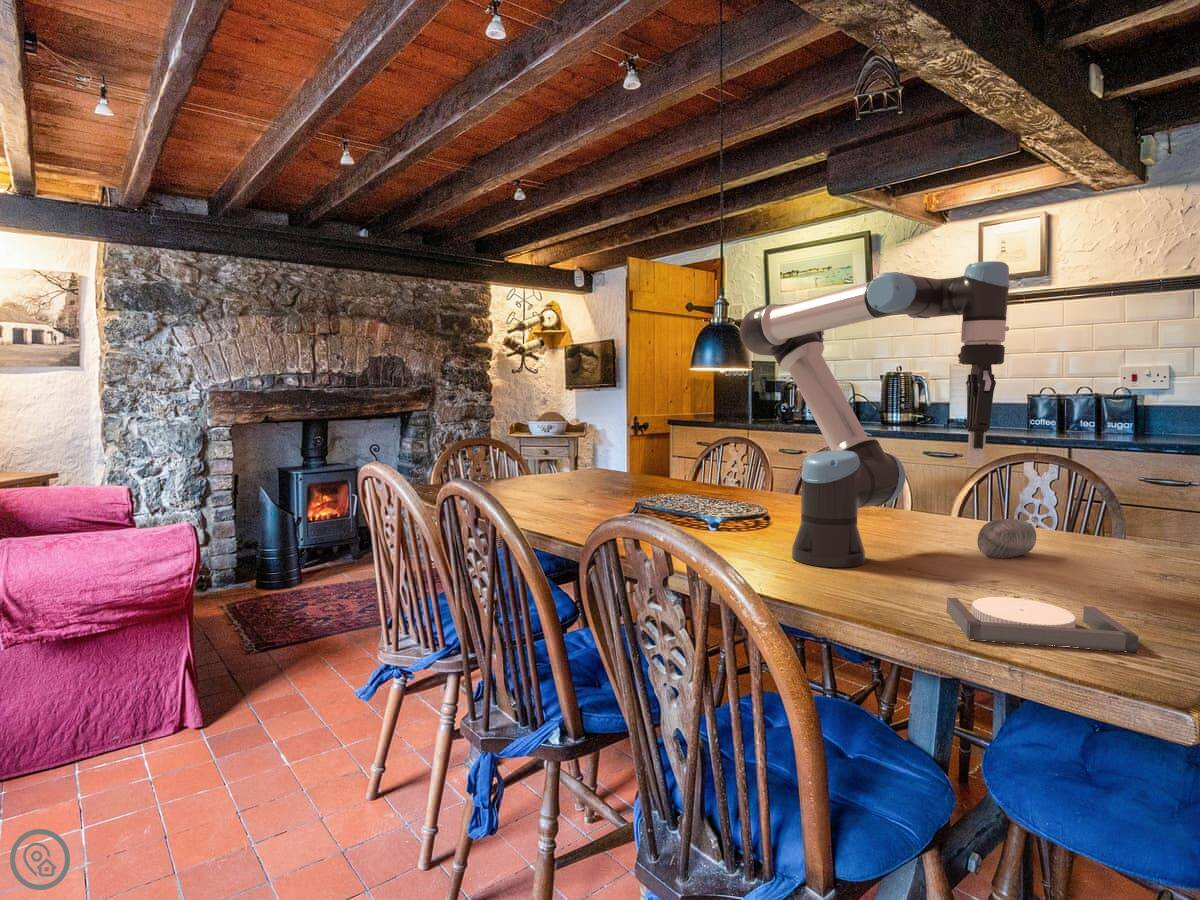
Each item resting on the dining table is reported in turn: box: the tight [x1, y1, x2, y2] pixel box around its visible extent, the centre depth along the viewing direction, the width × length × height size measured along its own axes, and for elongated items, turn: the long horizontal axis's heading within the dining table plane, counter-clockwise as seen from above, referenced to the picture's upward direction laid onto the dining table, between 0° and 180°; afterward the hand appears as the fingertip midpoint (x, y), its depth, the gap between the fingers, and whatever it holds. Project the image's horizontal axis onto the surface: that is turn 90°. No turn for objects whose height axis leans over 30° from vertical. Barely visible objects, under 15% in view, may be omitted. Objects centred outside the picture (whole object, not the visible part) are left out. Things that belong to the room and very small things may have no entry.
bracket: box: [946, 597, 1139, 653], centre depth 106 cm, size 22×14×2 cm, turn 76°
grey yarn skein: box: [976, 518, 1038, 559], centre depth 155 cm, size 14×10×10 cm
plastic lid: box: [971, 596, 1077, 628], centre depth 110 cm, size 14×14×2 cm
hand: (975, 464), depth 137 cm, fingers closed
